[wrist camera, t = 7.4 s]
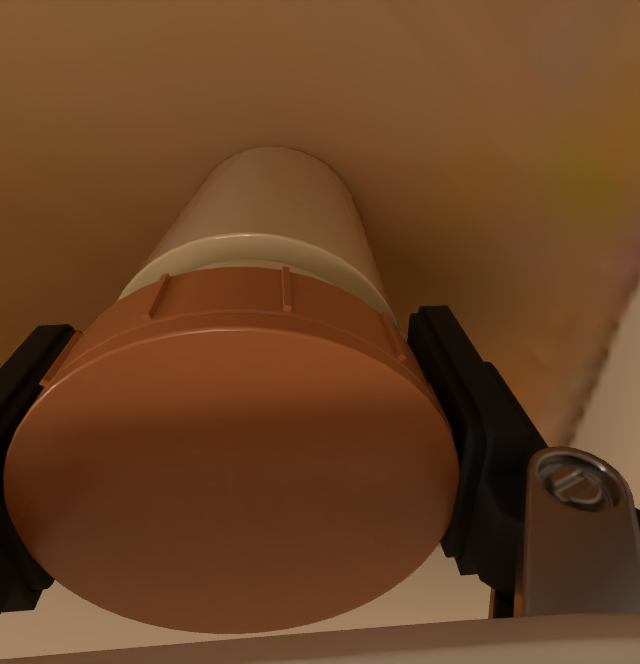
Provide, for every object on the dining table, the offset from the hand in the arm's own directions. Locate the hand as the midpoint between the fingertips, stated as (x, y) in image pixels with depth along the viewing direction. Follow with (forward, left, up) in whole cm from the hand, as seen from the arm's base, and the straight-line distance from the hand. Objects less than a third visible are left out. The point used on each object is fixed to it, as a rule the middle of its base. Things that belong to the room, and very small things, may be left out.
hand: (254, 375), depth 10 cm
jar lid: (0, 0, +3) cm, 3 cm away
